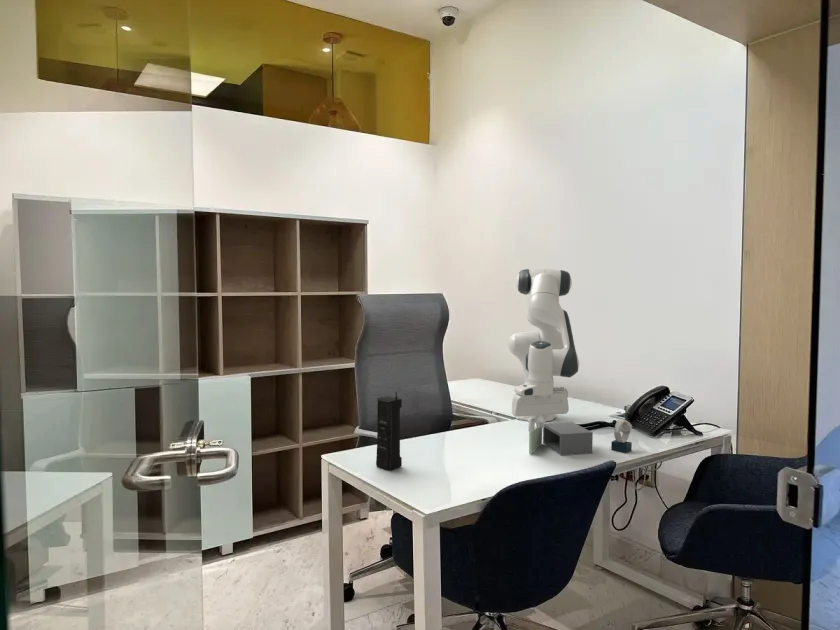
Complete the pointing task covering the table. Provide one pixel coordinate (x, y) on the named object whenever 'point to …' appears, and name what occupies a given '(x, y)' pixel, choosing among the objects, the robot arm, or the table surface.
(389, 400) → the portable radio
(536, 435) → the side door
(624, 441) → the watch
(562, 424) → the case
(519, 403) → the robot arm
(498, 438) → the table surface
